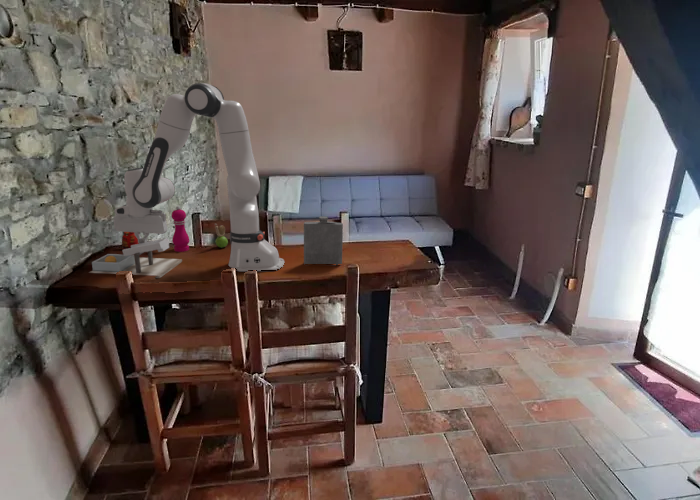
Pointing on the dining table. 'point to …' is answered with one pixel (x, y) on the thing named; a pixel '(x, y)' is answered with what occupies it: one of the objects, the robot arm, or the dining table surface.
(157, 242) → the lever
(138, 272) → the base board
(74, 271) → the dining table surface
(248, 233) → the robot arm
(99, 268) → the grey open tray
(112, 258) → the ball
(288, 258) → the dining table surface
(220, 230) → the snail figurine
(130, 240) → the red clay folk toy
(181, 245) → the pepper mill
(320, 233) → the hip flask
